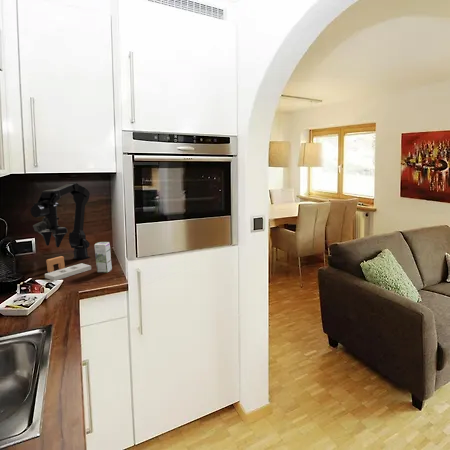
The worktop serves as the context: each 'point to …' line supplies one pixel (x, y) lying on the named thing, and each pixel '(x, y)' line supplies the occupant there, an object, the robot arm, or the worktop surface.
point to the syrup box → (103, 256)
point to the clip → (53, 261)
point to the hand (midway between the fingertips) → (52, 246)
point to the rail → (67, 271)
